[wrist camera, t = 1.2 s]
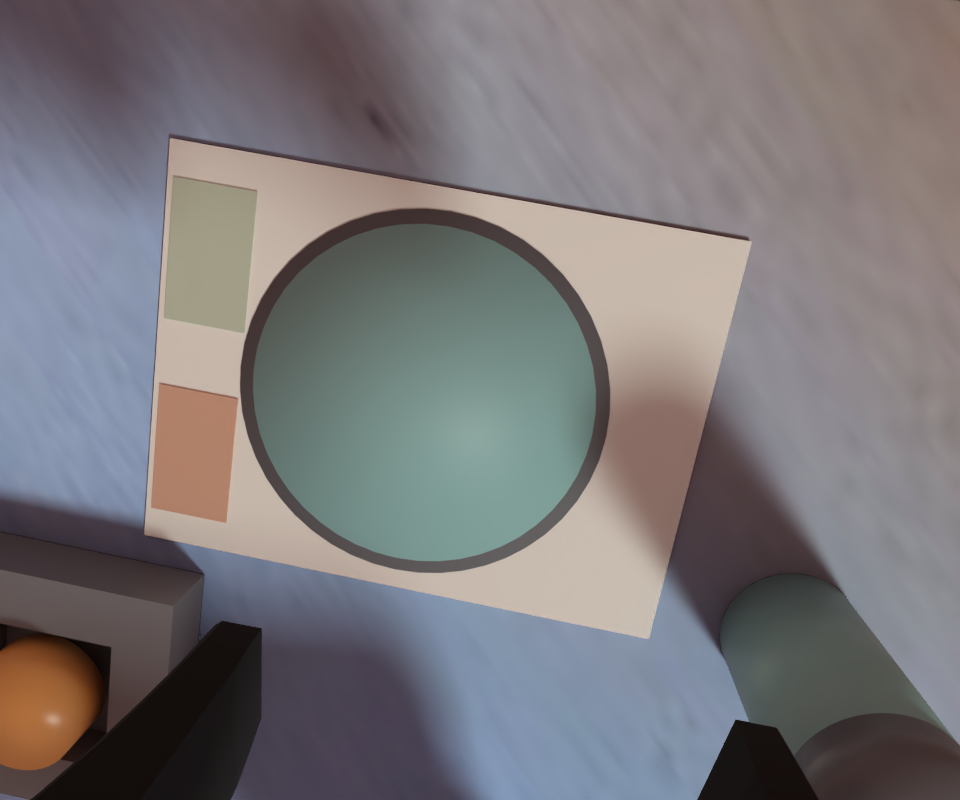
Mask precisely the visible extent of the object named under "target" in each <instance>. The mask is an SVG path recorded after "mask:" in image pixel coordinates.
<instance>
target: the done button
mask: <svg viewBox="0 0 960 800" xmlns="http://www.w3.org/2000/svg"><path fill="white" fill-rule="evenodd" d="M104 701H105V688H104V683H103V679H102V676H101V674H100V672H99V670H98V668H97V667H96V665H95V663H94V662H93V661H92V659H91V658H90V657H89V656H88V655H87V654H86V653H85V652H84V651H83V650H82V649H80V648H79V647H78V646H76V645H75V644H73V643H71V642H70V641H68V640H66V639H63V638H61V637H58V636H54V635H50V634H29V635H25V636H22V637H20V638H17V639H16V640H14V641H12V642H11V643H10V644H8V645H7V646H6V647H5V648H3V649H2V650H1V651H0V764H1V765H4V766H6V767H10V768H13V769H19V770H37V769H42V768H45V767H48V766H50V765H52V764H54V763H56V762H57V761H58V760H60V759H61V758H62V757H63V756H64V755H65V754H66V752H67V751H68V750H69V749H70V748H71V747H72V746H73V745H74V744H75V743H76V741H77V740H78V739H79V738H80V737H81V736H82V735H83V734H84V733H85V732H86V730H87V729H88V728H89V727H90V726H91V725H92V724H93V723H94V722H95V721H96V719H97V718H98V717H99V715H100V713H101V711H102V709H103V705H104Z"/></svg>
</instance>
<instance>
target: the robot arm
mask: <svg viewBox="0 0 960 800" xmlns="http://www.w3.org/2000/svg"><path fill="white" fill-rule="evenodd" d="M261 640H262V628H256V627H251V626H246V625H241V624H236V623H230V622H225V621H221V622H220V623H218V624H216V625H215V626H214V627H213V628H212V629H211V630H210V631H209V632H208V633H207V634H206V636H205V637H204V638H203V639H202V640H201V641H200V642H199V643H198V644H197V645H196V646H195V647H194V648H193V649H192V650H191V651H190V652H189V654H188V655H187V656H186V657H185V658H184V659H183V660H182V661H181V662H180V663H179V664H178V665H177V666H176V667H175V668H174V669H173V670H172V671H171V672H170V673H169V674H168V675H167V676H166V677H165V678H164V679H163V680H162V681H161V682H160V683H159V684H158V685H157V686H156V687H155V688H154V689H153V690H152V691H151V692H150V693H149V694H148V695H147V696H146V697H145V698H144V699H143V700H142V701H141V702H139V703H138V704H137V705H136V706H135V707H134V708H133V709H132V710H131V711H130V712H129V713H128V714H127V715H126V716H125V717H124V718H123V719H121V720H120V721H119V722H118V723H117V724H116V725H115V726H114V727H113V728H112V729H111V730H110V731H109V732H108V733H107V734H106V735H104V736H103V737H102V738H101V739H100V740H99V741H98V742H97V743H96V744H94V745H93V746H92V747H91V748H90V749H89V750H88V751H87V752H85V753H84V754H83V755H82V756H81V757H80V758H78V759H77V760H76V761H75V762H74V763H73V764H71V765H70V766H69V767H68V768H67V769H66V770H65V771H63V772H62V773H61V774H60V775H59V776H58V777H56V778H55V779H54V780H53V781H52V782H51V783H50V784H48V785H47V786H46V787H45V788H44V789H43V790H41V791H40V792H39V793H38V794H37V795H35V796H34V797H33V798H32V799H30V800H231V798H232V795H233V793H234V791H235V789H236V787H237V784H238V782H239V779H240V776H241V773H242V771H243V768H244V765H245V762H246V760H247V757H248V754H249V751H250V748H251V746H252V743H253V740H254V737H255V734H256V731H257V728H258V725H259V723H260V720H261ZM697 800H819V798H818V797H817V795H816V793H815V792H814V790H813V788H812V786H811V785H810V783H809V781H808V780H807V778H806V776H805V774H804V773H803V771H802V769H801V768H800V766H799V764H798V762H797V761H796V759H795V757H794V756H793V754H792V752H791V750H790V749H789V747H788V745H787V744H786V742H785V740H784V738H783V737H782V735H781V733H780V732H779V730H778V729H777V728H776V727H771V726H766V725H761V724H755V723H750V722H745V721H740V720H735V722H734V724H733V726H732V728H731V730H730V733H729V735H728V737H727V739H726V741H725V743H724V745H723V747H722V749H721V751H720V753H719V756H718V758H717V760H716V762H715V764H714V766H713V768H712V770H711V772H710V774H709V776H708V779H707V781H706V783H705V785H704V787H703V789H702V791H701V793H700V795H699V797H698V799H697Z"/></svg>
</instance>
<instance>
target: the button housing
mask: <svg viewBox="0 0 960 800" xmlns="http://www.w3.org/2000/svg"><path fill="white" fill-rule="evenodd" d="M203 583H204V574H199V573H194V572H189V571H184V570H180V569H175V568H170V567H165V566H160V565H156V564H151V563H146V562H141V561H136V560H132V559H127V558H122V557H117V556H112V555H108V554H103V553H98V552H93V551H89V550H84V549H79V548H74V547H69V546H65V545H60V544H55V543H50V542H45V541H41V540H36V539H31V538H26V537H21V536H17V535H12V534H7V533H2V532H0V651H1V650H2V649H3V648H5V647H6V646H7V645H8V644H10V643H11V642H12V641H14V640H16V639H17V638H20V637H22V636H25V635H29V634H50V635H54V636H58V637H61V638H63V639H66V640H68V641H70V642H71V643H73V644H75V645H76V646H78V647H79V648H80V649H82V650H83V651H84V652H85V653H86V654H87V655H88V656H89V657H90V658H91V659H92V661H93V662H94V663H95V665H96V667H97V668H98V670H99V672H100V674H101V676H102V679H103V683H104V688H105V701H104V705H103V709H102V711H101V713H100V715H99V717H98V718H97V719H96V721H95V722H94V723H93V724H92V725H91V726H90V727H89V728H88V729H87V730H86V732H85V733H84V734H83V735H82V736H81V737H80V738H79V739H78V740H77V741H76V743H75V744H74V745H73V746H72V747H71V748H70V749H69V750H68V751H67V752H66V754H65V755H64V756H63V757H62V758H61V759H60V760H58V761H57V762H56V763H54V764H52V765H50V766H48V767H45V768H42V769H37V770H19V769H13V768H10V767H6V766H4V765H1V764H0V793H2V794H7V795H11V796H16V797H20V798H24V799H29V800H30V799H32V798H33V797H34V796H35V795H37V794H38V793H39V792H40V791H41V790H43V789H44V788H45V787H46V786H47V785H48V784H50V783H51V782H52V781H53V780H54V779H55V778H56V777H58V776H59V775H60V774H61V773H62V772H63V771H65V770H66V769H67V768H68V767H69V766H70V765H71V764H73V763H74V762H75V761H76V760H77V759H78V758H80V757H81V756H82V755H83V754H84V753H85V752H87V751H88V750H89V749H90V748H91V747H92V746H93V745H94V744H96V743H97V742H98V741H99V740H100V739H101V738H102V737H103V736H104V735H106V734H107V733H108V732H109V731H110V730H111V729H112V728H113V727H114V726H115V725H116V724H117V723H118V722H119V721H120V720H121V719H123V718H124V717H125V716H126V715H127V714H128V713H129V712H130V711H131V710H132V709H133V708H134V707H135V706H136V705H137V704H138V703H139V702H141V701H142V700H143V699H144V698H145V697H146V696H147V695H148V694H149V693H150V692H151V691H152V690H153V689H154V688H155V687H156V686H157V685H158V684H159V683H160V682H161V681H162V680H163V679H164V678H165V677H166V676H167V675H168V674H169V673H170V672H171V671H172V670H173V669H174V668H175V667H176V666H177V665H178V664H179V663H180V662H181V661H182V660H183V659H184V658H185V657H186V656H187V655H188V654H189V652H190V651H191V650H192V649H193V648H194V647H195V646H196V645H197V644H198V639H199V628H200V617H201V605H202V594H203Z"/></svg>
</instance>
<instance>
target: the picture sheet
mask: <svg viewBox="0 0 960 800" xmlns="http://www.w3.org/2000/svg"><path fill="white" fill-rule="evenodd" d="M751 243H752V242H751V241H745V240H739V239H734V238H728V237H722V236H717V235H711V234H706V233H700V232H694V231H689V230H683V229H678V228H672V227H666V226H661V225H655V224H650V223H644V222H638V221H633V220H627V219H622V218H616V217H610V216H605V215H599V214H593V213H588V212H582V211H577V210H571V209H565V208H560V207H554V206H549V205H543V204H537V203H532V202H526V201H521V200H515V199H509V198H504V197H498V196H492V195H487V194H481V193H476V192H470V191H464V190H459V189H453V188H448V187H442V186H436V185H431V184H425V183H420V182H414V181H408V180H403V179H397V178H391V177H386V176H380V175H375V174H369V173H363V172H358V171H352V170H347V169H341V168H335V167H330V166H324V165H319V164H313V163H307V162H302V161H296V160H290V159H285V158H279V157H274V156H268V155H262V154H257V153H251V152H246V151H240V150H234V149H229V148H223V147H218V146H212V145H206V144H201V143H195V142H189V141H184V140H178V139H173V138H170V146H169V161H168V176H167V192H166V207H165V223H164V238H163V253H162V269H161V284H160V299H159V315H158V330H157V345H156V361H155V376H154V391H153V407H152V422H151V437H150V453H149V468H148V483H147V499H146V514H145V529H144V535H147V536H152V537H157V538H162V539H167V540H171V541H176V542H181V543H186V544H191V545H196V546H200V547H205V548H210V549H215V550H220V551H225V552H229V553H234V554H239V555H244V556H249V557H254V558H258V559H263V560H268V561H273V562H278V563H283V564H288V565H292V566H297V567H302V568H307V569H312V570H317V571H321V572H326V573H331V574H336V575H341V576H346V577H350V578H355V579H360V580H365V581H370V582H375V583H379V584H384V585H389V586H394V587H399V588H404V589H409V590H413V591H418V592H423V593H428V594H433V595H438V596H442V597H447V598H452V599H457V600H462V601H467V602H471V603H476V604H481V605H486V606H491V607H496V608H500V609H505V610H510V611H515V612H520V613H525V614H530V615H534V616H539V617H544V618H549V619H554V620H559V621H563V622H568V623H573V624H578V625H583V626H588V627H592V628H597V629H602V630H607V631H612V632H617V633H621V634H626V635H631V636H636V637H641V638H646V639H649V636H650V633H651V629H652V625H653V621H654V617H655V613H656V609H657V606H658V602H659V598H660V594H661V590H662V586H663V582H664V579H665V575H666V571H667V567H668V563H669V559H670V555H671V552H672V548H673V544H674V540H675V536H676V532H677V528H678V525H679V521H680V517H681V513H682V509H683V505H684V501H685V498H686V494H687V490H688V486H689V482H690V478H691V474H692V471H693V467H694V463H695V459H696V455H697V451H698V447H699V444H700V440H701V436H702V432H703V428H704V424H705V420H706V417H707V413H708V409H709V405H710V401H711V397H712V393H713V390H714V386H715V382H716V378H717V374H718V370H719V366H720V363H721V359H722V355H723V351H724V347H725V343H726V339H727V336H728V332H729V328H730V324H731V320H732V316H733V312H734V309H735V305H736V301H737V297H738V293H739V289H740V285H741V282H742V278H743V274H744V270H745V266H746V262H747V258H748V255H749V251H750V247H751Z"/></svg>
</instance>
